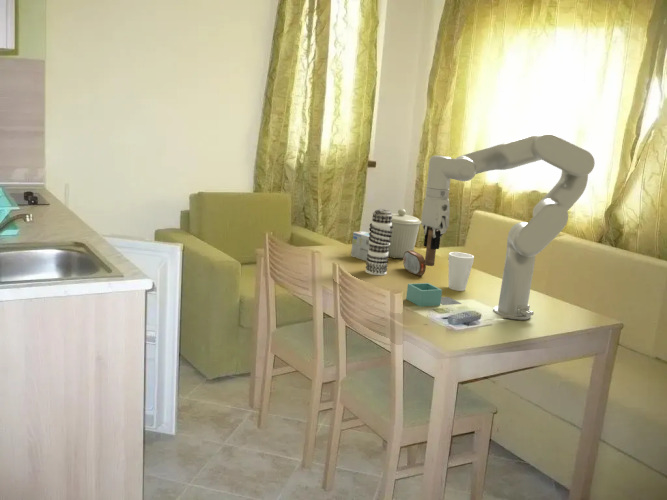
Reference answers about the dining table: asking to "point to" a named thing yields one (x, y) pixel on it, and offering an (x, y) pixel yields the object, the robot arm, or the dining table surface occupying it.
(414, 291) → the teal open box
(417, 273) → the tin
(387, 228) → the decorative candle
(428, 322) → the dining table surface
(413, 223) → the canister
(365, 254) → the light bulb box
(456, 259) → the foam cup
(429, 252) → the dowel
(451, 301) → the coaster
